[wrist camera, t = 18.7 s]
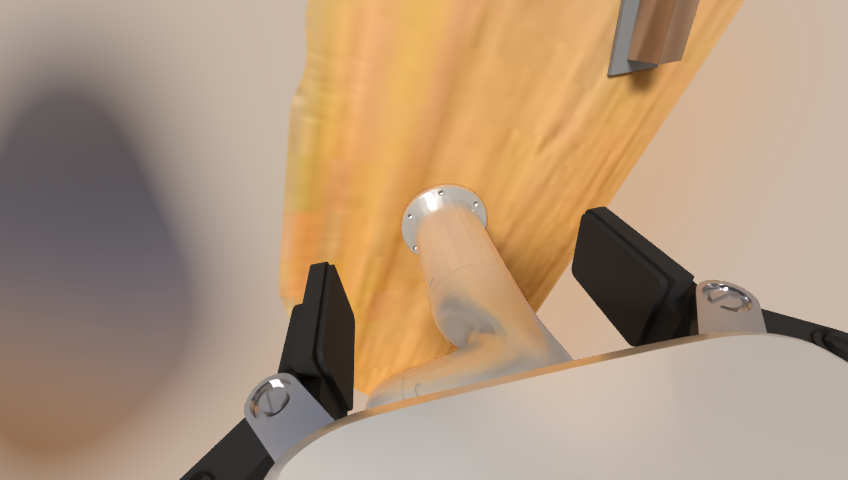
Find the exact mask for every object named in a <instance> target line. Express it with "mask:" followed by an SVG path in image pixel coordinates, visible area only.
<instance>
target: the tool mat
mask: <svg viewBox="0 0 848 480" xmlns="http://www.w3.org/2000/svg"><path fill="white" fill-rule="evenodd" d="M639 1H640V0H622V1H621V6H620V11H619V16H618V22H617V27H616V32H615V38H614V43H613V48H612V53H611V59H610V64H609V69H608V74H607V75H616V74H622V73H627V72H633V71H639V70H644V69H650V68H656V67H658V64H654V63H647V62H641V61H635V60H629V59H627V56H628V52H629V47H630V42H631V38H632V33H633V29H634V24H635V20H636V15H637V10H638V6H639Z"/></svg>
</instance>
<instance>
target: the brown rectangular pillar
mask: <svg viewBox="0 0 848 480" xmlns="http://www.w3.org/2000/svg"><path fill="white" fill-rule="evenodd" d="M699 1H700V0H640V1H639V6H638V10H637V15H636V20H635V24H634V29H633V33H632V38H631V42H630V47H629V52H628V56H627V59H629V60H635V61H641V62H647V63H654V64H664V63H670V62H675V61H681V59H682V56H683V53H684V49H685V46H686V43H687V40H688V36H689V33H690V30H691V27H692V23H693V20H694V17H695V14H696V10H697V7H698V4H699Z"/></svg>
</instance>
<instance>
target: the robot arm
mask: <svg viewBox="0 0 848 480" xmlns="http://www.w3.org/2000/svg"><path fill="white" fill-rule="evenodd" d="M441 190H442V191H441ZM439 191H441V192H439ZM409 214H411V215H409ZM486 222H487V215H486V210H485V207H484V205H483V203H482V201H481V200H480V198H479V197H478V196H477V195H476V194H475V193H474V192H472V191H471V190H470V189H467V188H465V187H463V186H459V185H455V184H444V185H437V186H434V187H431V188H429V189H427V190H425V191H423V192H421V193H420V194H418V195H417V196H416V197H415V198H414V199H413V200H412V201H411V202H410V203H409V204H408V206H407V208H406V209H405V211H404V214H403V217H402V223H401V228H402V235H403V239H404V241H405V243H406V245H407V246H408V247H409V249H410V250H411V251H413V252H414V253H415V254H417V255H418V256H419V261H420V265H421V269H422V273H423V278H424V282H425V286H426V290H427V295H428V299H429V303H430V307H431V311H432V315H433V319H434V322H435V324H436V326H437V328H438V329H439V331H440V332H441V333H442V335H443V336H444V337H445V338H446V339H447V340H448V341H449V342H450V343H452V344H453V345H454V346H455V347H457V348H458V349H459V350H456V351H454V352H452V353H451V354H448V355H445V356H443V357H440V358H437V359H434V360H432V361H429V362H426V363H423V364H420V365H418V366H415V367H412V368H409V369H407V370H404V371H402V372H399V373H397V374H394V375H392V376H390V377H388V378H386V379H384V380H383V381H382V382H380V383H379V384H378V385H377V386H376V387H375V388H374V389H373V391H372V392H371V394H370V396H369V398H368V401H367V404H366V408H365V410H364V411H360V412H357V413H354V414H351V415H348V416H347V412H348V411H350V410H352V409H353V385H354V342H355V319H354V314H353V311H352V309H351V306H350V304H349V301H348V299H347V296H346V293H345V291H344V288H343V286H342V283H341V280H340V278H339V275H338V273H337V270H336V268H335V266H334V265H329V263H328V262H323V263H318V264H313V265H311V266H310V270H309V275H308V280H307V285H306V289H305V294H304V299H303V304H299V305H295V306H294V308H293V310H292V314H291V319H290V323H289V327H288V331H287V336H286V340H285V344H284V348H283V353H282V357H281V361H280V365H279V370H278V374H274V375H272V376H269V377H267V378H266V379H264V380H263V381H261V382H260V383H259V384H258V385H257V386H256V387H255V388H254V389H253V390H252V391H251V393H250V394H249V396H248V398H247V400H246V402H245V405H244V415H245V418H244V419H243V420H242V421H241V422H240V423H239V424H237V425H236V426H235V427H234V428H233V429H232V430H231V431H230V432H229V433H228V434H227V435H226V436H225V437H224V438H223V439H222V440H221V441H220V442H219V443H217V445H215V446H214V448H212V449H211V450H210V451H209V452H208V453H207V454H206V455H205V456H204V457H203V458H202V459H201V460H200V461H199V462H198V463H196V464H195V465H194V466H193V467H192V468H191V469H190V470H189V471H188V472H187V473H186V474H185V475H184V476H183V477H182V478H181V479H180V480H848V333H845V332H842V331H839V330H836V329H833V328H829V327H825V326H822V325H818V324H815V323H811V322H807V321H804V320H800V319H796V318H793V317H789V316H786V315H782V314H778V313H774V312H771V311H768V310H764V309H761V307H760V304H759V302H758V300H757V299H756V298H755V297H754V296H753V295H752V294H751V293H750V292H748V291H747V290H745V289H744V288H742V287H739V286H737V285H735V284H732V283H729V282H725V281H718V280H706V281H703V282H701V283H700V284H698V285H697V284H696V283H695V282H693V279H694V276H693V275H692V274H691V273H689V272H688V271H687V270H685V269H684V268H683V267H682V266H680V265H679V264H678V263H676V262H675V261H674V260H673V259H671V258H670V257H669V256H667V255H666V254H665V253H664V252H662V251H661V250H660V249H658V248H657V247H656V246H655V245H653V244H652V243H651V242H650V241H648V240H647V239H646V238H644V237H643V236H642V235H640V234H639V233H638V232H637V231H636V230H634V229H633V228H632V227H630V226H629V225H628V224H627V223H625V222H624V221H623V220H621V219H620V218H619V217H618V216H616V215H615V214H614V213H613V212H611V211H610V210H609V209H607V208H606V207H598V208H593V209H588V210H587V211H586V212H585V214H583V215H582V217H581V222H580V227H579V232H578V237H577V242H576V248H575V253H574V258H573V264H572V274H573V276H574V277H575V278H576V280H577V281H578V282H579V283H580V285H581V286H582V287H583V288H584V289H585V291H586V292H587V293H588V294H589V296H590V297H591V298H592V299H593V301H594V302H595V303H596V304H597V306H598V307H599V308H600V309H601V310H602V312H603V313H604V314H605V315H606V317H607V318H608V319H609V320H610V321H611V323H612V324H613V325H614V326H615V327H616V329H617V330H618V331H619V333H620V334H621V335H622V336H623V337H624V339H625V340H626V341H627V342H628V343H629V344H630V345H631V346H635V347H633V348H629V349H624V350H620V351H615V352H610V353H606V354H601V355H597V356H592V357H588V358H583V359H579V360H573V359H572V358H571V356H570V355H569V354H568V353H567V351H566V350H565V349H564V348H563V347H562V346H561V344H560V343H559V342H558V341H557V340H556V339H555V338H554V336H553V335H552V334H551V333H550V332H549V331H548V329H547V328H546V327H545V326H544V325H543V323H542V322H541V321H540V319H539V318H538V317H537V315H536V314H535V313H534V311H533V310H532V308H531V307H530V305H529V304H528V302H527V301H526V299H525V297H524V296H523V294H522V292H521V291H520V289H519V287H518V286H517V284H516V282H515V281H514V279H513V277H512V275H511V274H510V272H509V270H508V268H507V267H506V265H505V263H504V262H503V260H502V258H501V256H500V255H499V253H498V251H497V249H496V248H495V246H494V244H493V242H492V241H491V239H490V237H489V236H488V234H487V232H486V230H485V227H486Z"/></svg>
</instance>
